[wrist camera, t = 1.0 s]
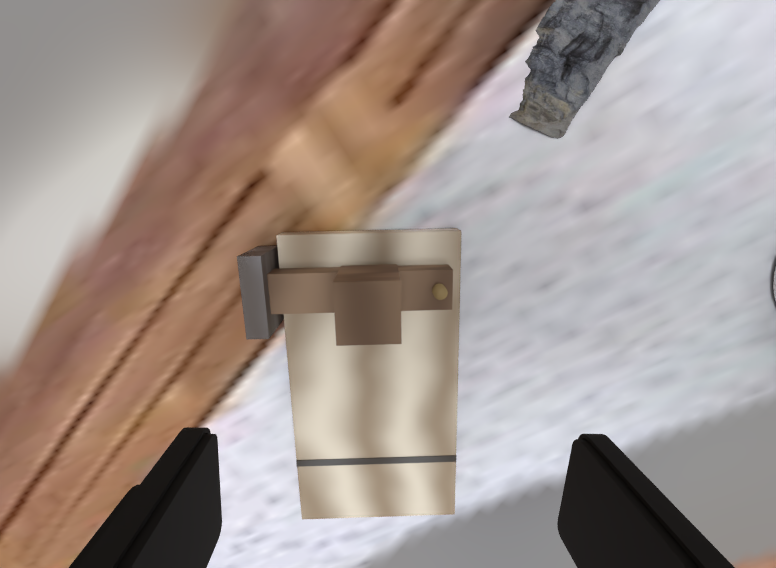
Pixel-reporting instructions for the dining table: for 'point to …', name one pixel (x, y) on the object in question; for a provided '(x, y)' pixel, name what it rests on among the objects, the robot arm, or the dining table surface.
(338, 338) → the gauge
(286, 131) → the dining table surface
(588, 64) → the driftwood
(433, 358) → the board
